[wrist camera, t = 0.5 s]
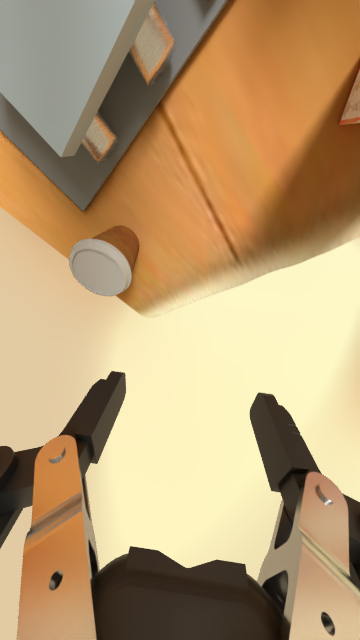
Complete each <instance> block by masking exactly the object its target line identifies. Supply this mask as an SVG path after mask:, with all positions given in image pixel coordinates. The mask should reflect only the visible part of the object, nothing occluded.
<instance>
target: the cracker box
mask: <svg viewBox="0 0 360 640" xmlns="http://www.w3.org/2000/svg"><path fill="white" fill-rule="evenodd" d="M355 123H360V68H359V71H358V74H357V76H356V79H355V81H354V84H353V87H352V90H351V92H350V95H349V98H348V100H347V103H346V106H345V108H344V111H343V114H342V117H341V119H340V122H339V125H345V124H355Z"/></svg>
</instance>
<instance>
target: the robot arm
mask: <svg viewBox="0 0 360 640" xmlns="http://www.w3.org/2000/svg"><path fill="white" fill-rule="evenodd" d="M125 393H126V382H125V373H121V372H115V371H112V372H111V373H110V374H109V376H108V378H107V379H106V380H104V379H100V380H99V381H98V382H96V383H95V384H94V385H93V386H92V387H91V389H90V390H89V392H88V393H87V396H85V398H84V399H83V401H82V403H81V404H80V405H79V407H78V408H77V410H76V412H75V413H74V414H73V416H72V418H71V419H70V421H69V422H68V424H67V425H66V427H65V428H64V430H63V431H62V432H61V433H60V435H59V436H58V437H56V438H54V439H52V440H50V441H49V442H48V443H46V444H45V445H44V446H41V447H38V448H33V449H28V450H23V451H18V452H14V451H13V450H12V449H11V448H10V447H8V446H0V548H1V546H2V545H3V543H4V541H5V539H6V537H7V536H8V534H9V532H10V531H11V529H12V527H13V525H14V524H15V522H16V520H17V518H18V517H19V515H20V513H21V511H22V510H23V508H25V507H29V506H32V505H33V507H32V523H31V528H30V531H29V532H28V533H27V536H26V539H25V544H24V552H23V564H22V577H21V591H20V603H19V616H18V630H17V640H360V502H358V501H356V500H354V499H352V498H350V497H348V496H346V495H344V494H342V493H341V491H340V490H339V489H338V487H337V486H336V485H335V484H334V483H333V482H332V481H331V480H330V479H328V478H327V477H326V476H324V475H322V473H321V472H320V470H319V469H318V467H317V465H316V463H315V461H314V459H313V457H312V455H311V453H310V451H309V450H308V448H307V446H306V444H305V442H304V440H303V438H302V436H301V435H300V432H299V430H298V428H297V427H296V425H295V423H294V421H293V419H292V417H291V415H290V414H289V413H288V411H287V410H286V409H285V408H284V407H283V406H280V405H278V403H277V400H276V399H275V397H274V395H272V394H265V393H258V394H257V396H256V398H255V400H254V402H253V404H252V406H251V409H250V420H251V424H252V427H253V430H254V434H255V437H256V440H257V444H258V447H259V450H260V454H261V457H262V461H263V464H264V468H265V471H266V474H267V478H268V481H269V484H270V488H271V491H275V492H280V493H281V496H282V499H283V500H282V501H281V504H280V509H279V513H278V517H277V521H276V525H275V529H274V533H273V537H272V541H271V545H270V548H269V551H268V553H267V555H266V557H265V559H264V561H263V564H262V567H261V569H260V573H259V577H258V580H257V581H255V580H254V579H253V578H252V577H251V576H249V575H248V574H247V573H246V566H245V564H241V563H234V562H228V561H221V560H214V561H211V562H208V563H205V564H201V565H198V566H195V567H192V568H185V567H183V566H182V565H180V564H178V563H177V562H175V561H174V560H172V559H171V558H169V557H167V556H166V555H164V554H163V553H161V552H160V551H157V550H151V549H144V548H138V547H130V549H129V553H128V554H125V555H122V556H120V557H118V558H116V559H114V560H113V561H111V562H110V563H108V564H107V565H106V566H105V567H104V568H102V569H101V570H99V562H98V556H97V549H96V541H95V536H94V531H93V526H92V519H91V513H90V505H89V498H88V490H87V483H86V476H85V474H86V472H87V469H88V467H89V465H90V463H95V464H97V463H98V461H99V458H100V456H101V453H102V451H103V449H104V446H105V444H106V442H107V439H108V437H109V434H110V432H111V430H112V427H113V425H114V422H115V420H116V418H117V415H118V413H119V411H120V408H121V406H122V403H123V401H124V397H125Z"/></svg>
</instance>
